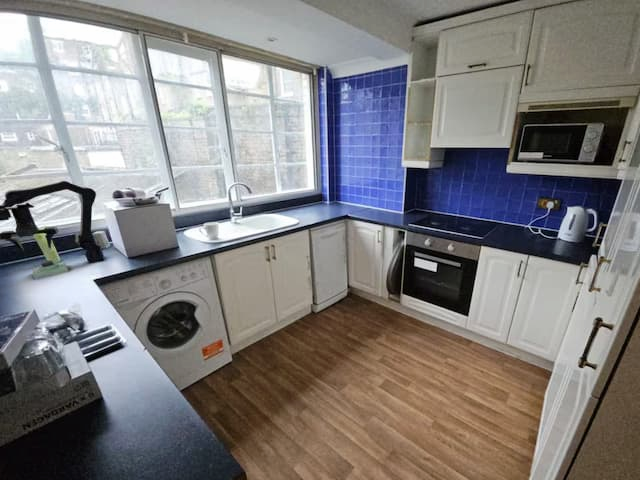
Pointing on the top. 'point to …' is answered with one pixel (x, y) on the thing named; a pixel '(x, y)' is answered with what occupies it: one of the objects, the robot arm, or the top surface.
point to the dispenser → (49, 270)
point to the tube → (49, 253)
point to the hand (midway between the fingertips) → (37, 250)
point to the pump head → (47, 263)
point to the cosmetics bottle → (101, 239)
